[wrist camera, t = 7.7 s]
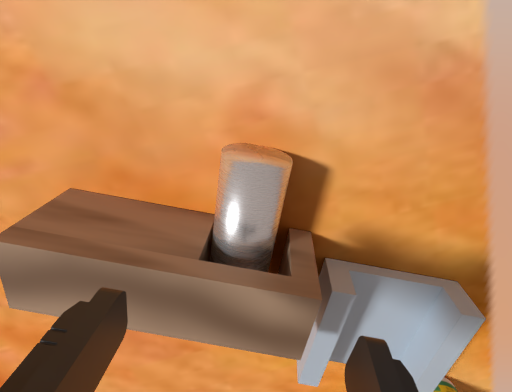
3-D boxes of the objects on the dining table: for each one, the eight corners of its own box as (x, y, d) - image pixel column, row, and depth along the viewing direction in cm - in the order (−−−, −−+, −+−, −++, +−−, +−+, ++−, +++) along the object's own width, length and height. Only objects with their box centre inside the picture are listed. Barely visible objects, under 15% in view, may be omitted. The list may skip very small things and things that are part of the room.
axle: (266, 293, 24) (250, 334, 20) (218, 276, 25) (195, 314, 21) (298, 153, 19) (285, 175, 15) (236, 139, 20) (209, 156, 16)
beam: (295, 283, 24) (300, 360, 18) (77, 244, 24) (9, 307, 18) (310, 231, 22) (322, 300, 16) (70, 188, 21) (-11, 240, 16)
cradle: (406, 364, 27) (422, 405, 24) (296, 344, 27) (298, 383, 24) (457, 281, 22) (486, 319, 19) (325, 257, 22) (332, 291, 19)
